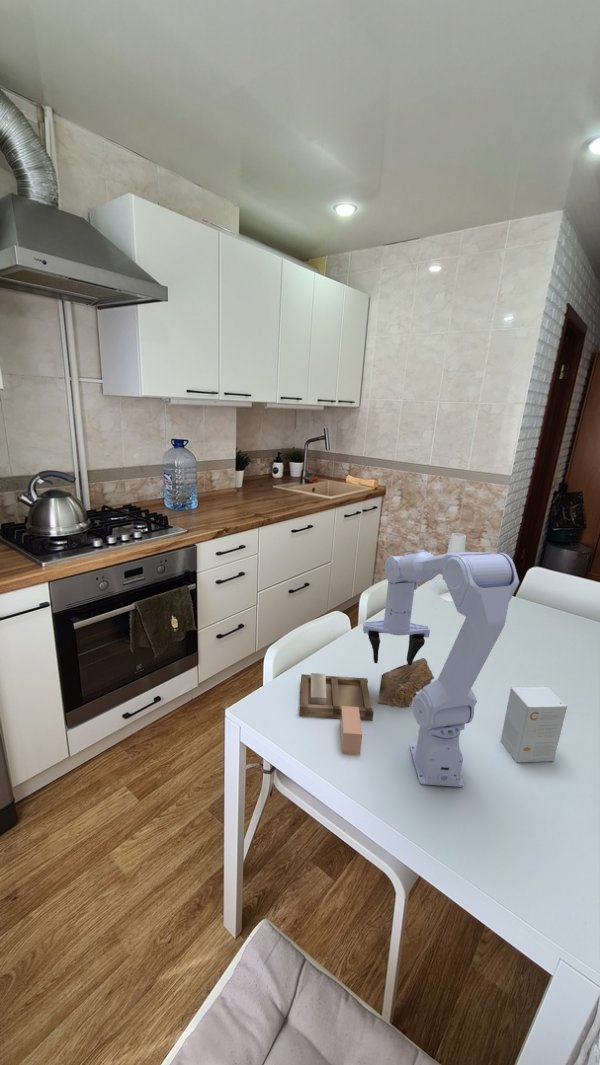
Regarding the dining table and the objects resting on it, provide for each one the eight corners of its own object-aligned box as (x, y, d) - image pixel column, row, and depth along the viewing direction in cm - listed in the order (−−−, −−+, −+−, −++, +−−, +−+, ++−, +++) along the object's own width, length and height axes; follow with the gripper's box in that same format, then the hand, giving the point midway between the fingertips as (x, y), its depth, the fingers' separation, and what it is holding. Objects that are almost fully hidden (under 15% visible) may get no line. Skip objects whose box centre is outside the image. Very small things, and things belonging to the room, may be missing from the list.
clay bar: (359, 755, 88) (362, 734, 86) (341, 754, 88) (343, 732, 86) (356, 726, 96) (358, 707, 94) (339, 725, 96) (341, 706, 94)
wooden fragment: (401, 716, 100) (401, 712, 99) (359, 695, 106) (359, 691, 106) (447, 669, 119) (448, 666, 118) (410, 653, 125) (410, 650, 125)
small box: (535, 738, 95) (547, 685, 91) (554, 762, 89) (568, 706, 85) (498, 739, 94) (510, 686, 90) (515, 763, 88) (528, 707, 84)
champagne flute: (456, 594, 166) (466, 532, 159) (460, 602, 159) (471, 538, 153) (438, 593, 167) (447, 531, 160) (441, 600, 160) (450, 536, 153)
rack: (366, 687, 109) (367, 672, 108) (372, 721, 97) (374, 705, 96) (300, 683, 109) (301, 668, 108) (299, 716, 98) (300, 700, 96)
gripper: (427, 602, 102) (420, 654, 106) (364, 598, 103) (359, 650, 107) (435, 616, 96) (427, 671, 99) (367, 611, 96) (361, 667, 100)
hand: (392, 661), depth 102 cm, fingers open, 7 cm apart
